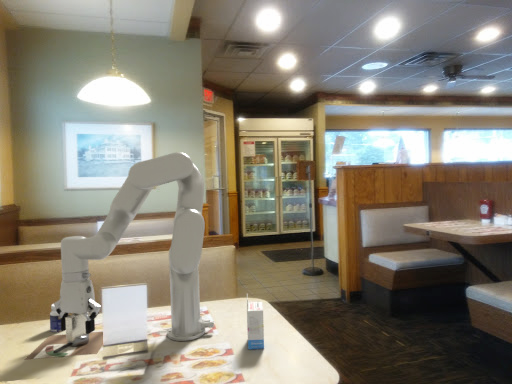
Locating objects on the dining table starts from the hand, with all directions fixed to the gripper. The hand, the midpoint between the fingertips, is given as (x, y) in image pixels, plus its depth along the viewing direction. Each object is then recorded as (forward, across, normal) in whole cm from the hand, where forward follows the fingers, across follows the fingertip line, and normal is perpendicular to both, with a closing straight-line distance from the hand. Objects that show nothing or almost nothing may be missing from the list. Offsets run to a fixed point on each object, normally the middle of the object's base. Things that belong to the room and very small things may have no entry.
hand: (78, 330), depth 115 cm
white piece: (+4, 0, +3) cm, 5 cm away
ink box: (+5, -53, -16) cm, 56 cm away
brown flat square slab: (+5, +2, +1) cm, 6 cm away
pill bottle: (+5, +16, -8) cm, 19 cm away
